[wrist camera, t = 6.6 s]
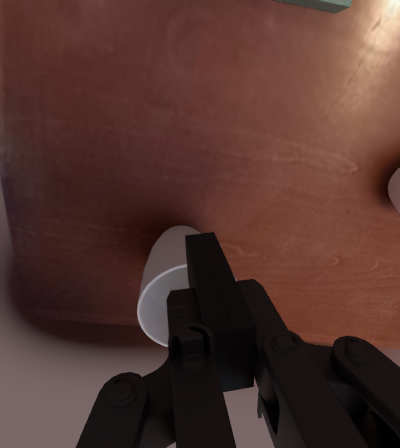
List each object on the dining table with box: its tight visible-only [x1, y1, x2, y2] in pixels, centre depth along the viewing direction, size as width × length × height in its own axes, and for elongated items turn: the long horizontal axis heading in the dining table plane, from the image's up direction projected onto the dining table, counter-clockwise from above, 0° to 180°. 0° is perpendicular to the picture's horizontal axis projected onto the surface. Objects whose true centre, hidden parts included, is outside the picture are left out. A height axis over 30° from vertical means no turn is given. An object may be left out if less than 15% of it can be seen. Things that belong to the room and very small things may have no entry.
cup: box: [137, 225, 237, 347], centre depth 26 cm, size 8×8×10 cm
